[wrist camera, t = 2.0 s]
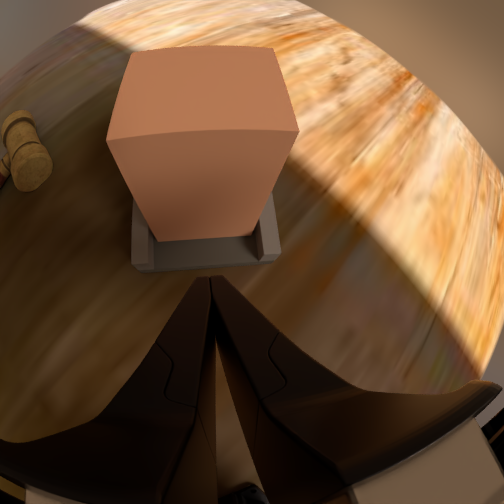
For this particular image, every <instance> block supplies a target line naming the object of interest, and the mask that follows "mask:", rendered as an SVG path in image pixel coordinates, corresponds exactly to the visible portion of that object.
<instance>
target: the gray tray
mask: <svg viewBox="0 0 504 504" xmlns="http://www.w3.org/2000/svg"><path fill="white" fill-rule="evenodd" d="M280 254H281V248H280V242H279V235H278V228H277V222H276V215H275V209H274V202H273V196H272V191H271V193H270V195H269V198H268V200H267V202H266V204H265V206H264V208H263V211H262V213H261V215H260V217H259V219H258V221H257V224H256V226H255V228H254V230H253V232H252V234H251V236H235V237H220V238H205V239H191V240H177V241H164V242H158V241H157V239H156V238H155V236H154V234H153V232H152V230H151V229H150V227H149V225H148V223H147V221H146V220H145V218H144V216H143V214H142V212H141V210H140V209H139V207H138V205H137V203H136V201H135V199H134V197H133V212H132V243H131V264H132V265H133V266H134V267H135V268H136V269H138V270H139V271H140V272H141V273H148V272H163V271H178V270H192V269H205V268H218V267H232V266H244V265H257V264H269V263H272V262H273V261H274V260H275V259H276V258H277V257H278V256H279V255H280Z"/></svg>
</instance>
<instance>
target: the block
mask: <svg viewBox="0 0 504 504" xmlns="http://www.w3.org/2000/svg"><path fill="white" fill-rule="evenodd" d="M298 133H299V128H298V125H297V121H296V118H295V114H294V111H293V108H292V104H291V101H290V98H289V94H288V91H287V88H286V85H285V82H284V79H283V76H282V73H281V70H280V67H279V64H278V61H277V58H276V55H275V52H274V50H273V48H264V47H250V46H188V47H174V48H163V49H155V50H147V51H140V52H134V53H132V55H131V57H130V60H129V63H128V65H127V68H126V71H125V74H124V77H123V80H122V83H121V86H120V89H119V92H118V96H117V99H116V103H115V106H114V110H113V113H112V117H111V121H110V125H109V129H108V134H107V138H106V142H107V144H108V146H109V149H110V151H111V153H112V155H113V157H114V159H115V161H116V163H117V165H118V168H119V170H120V172H121V174H122V176H123V178H124V180H125V182H126V184H127V186H128V188H129V189H130V191H131V193H132V195H133V197H134V199H135V201H136V203H137V205H138V207H139V209H140V210H141V212H142V214H143V216H144V218H145V220H146V221H147V223H148V225H149V227H150V229H151V230H152V232H153V234H154V236H155V238H156V239H157V241H158V242H164V241H177V240H191V239H205V238H220V237H235V236H251V234H252V232H253V230H254V228H255V226H256V224H257V221H258V219H259V217H260V215H261V213H262V211H263V208H264V206H265V204H266V202H267V200H268V198H269V195H270V193H271V191H272V189H273V187H274V185H275V182H276V180H277V178H278V176H279V174H280V172H281V170H282V167H283V165H284V163H285V161H286V159H287V157H288V155H289V152H290V150H291V148H292V146H293V144H294V142H295V140H296V138H297V135H298Z"/></svg>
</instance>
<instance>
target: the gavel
mask: <svg viewBox="0 0 504 504" xmlns="http://www.w3.org/2000/svg"><path fill="white" fill-rule="evenodd" d="M1 135H2V140H3V144H4V146H5V147H6V148H7V150H8V153H7V154H6V155H5V156H4V157H3V159H2V160H1V161H0V188H1V187H2V186H3V184H4V182H5V181H6V179H7V177H8V176H9V175H10V174H12V178H13V181H14V184H15V186H16V188H17V189H18V190H20V191H23V192H30V191H33V190H35V189H37V188H38V187H39V186H40V185H41V184H42V183H43V182H44V181H45V180H46V179H47V178H48V177H49V176H50V174H51V173H52V169H53V162H52V159H51V157H50V155H49V153H48V151H47V149H46V148H45V147H44V146H43V145H41V143H40V140H39V138H38V136H37V133H36V125H35V122H34V119H33V117H32V115H31V114H30V113H29V112H28V111H25V110H20V111H16V112H14V113H12V114H11V115H10V116H9V117H8V118H7V119H6V120H5V122H4V123H3V126H2V129H1Z"/></svg>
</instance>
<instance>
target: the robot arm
mask: <svg viewBox="0 0 504 504" xmlns="http://www.w3.org/2000/svg"><path fill="white" fill-rule="evenodd" d="M215 337H216V340H215ZM216 343H217V347H218V351H219V354H220V358H221V362H222V365H223V369H224V372H225V376H226V379H227V383H228V386H229V389H230V393H231V396H232V399H233V402H234V406H235V409H236V412H237V415H238V418H239V421H240V424H241V427H242V430H243V434H244V436H245V439H246V442H247V445H248V448H249V451H250V454H251V457H252V459H253V462H254V465H255V468H256V471H257V473H258V476H259V479H260V481H261V484H262V487H263V489H264V492H265V493H264V492H263V491H262V490H261V489H260V488H259V487H258V486H256V485H251V486H248V487H246V488H244V489H242V490H240V491H238V492H235V493H233V494H229V495H227V496H225V497H222V498H220V499H218V492H217V466H216V416H215V372H216ZM501 391H502V387H501V386H499V385H498V384H495V383H493V382H490V381H482V380H473V381H470V382H469V383H467V384H466V385H464V386H463V387H461V388H459V389H457V390H455V391H453V392H449V393H444V394H432V395H429V394H400V393H385V392H373V391H367V390H363V389H361V388H358V387H356V386H354V385H352V384H350V383H348V382H347V381H345V380H344V379H342V378H341V377H339V376H338V375H336V374H335V373H333V372H332V371H330V370H329V369H327V368H326V367H325V366H323V365H322V364H320V363H319V362H317V361H316V360H314V359H313V358H312V357H310V356H309V355H308V354H306V353H305V352H304V351H302V350H301V349H300V348H299V347H297V346H296V345H295V344H294V343H293V342H292V341H291V340H289V339H288V338H287V337H286V336H285V335H284V334H283V333H282V332H280V331H279V329H277V328H276V327H275V326H274V325H273V324H272V323H271V322H270V321H269V320H268V319H267V318H266V317H265V316H264V315H263V314H262V313H261V312H260V311H259V310H258V309H256V308H255V307H254V306H253V305H252V304H251V303H250V302H249V301H248V300H247V299H246V298H245V297H244V296H243V295H242V294H241V293H240V292H239V291H238V290H237V289H236V288H235V287H234V286H233V285H232V284H231V283H230V282H229V281H228V280H227V279H226V278H225V277H224V276H222V275H217V276H211V277H210V278H209V277H208V276H204V277H197V278H196V279H195V280H194V282H193V283H192V285H191V286H190V288H189V289H188V291H187V292H186V294H185V295H184V297H183V299H182V300H181V302H180V303H179V305H178V306H177V308H176V309H175V311H174V312H173V314H172V316H171V317H170V319H169V320H168V322H167V323H166V325H165V326H164V328H163V330H162V331H161V333H160V334H159V336H158V338H157V339H156V341H155V343H154V344H153V345H152V347H151V349H150V350H149V352H148V353H147V355H146V356H145V358H144V359H143V361H142V362H141V364H140V365H139V366H138V368H137V369H136V370H135V372H134V373H133V374H132V376H131V377H130V378H129V379H128V381H127V382H126V383H125V384H124V385H123V387H122V388H121V389H120V390H119V392H118V393H117V394H116V395H115V397H114V398H113V399H112V400H111V402H110V403H109V404H108V405H107V406H106V408H105V409H104V410H103V411H102V412H101V413H100V414H99V415H98V416H97V417H95V418H94V419H92V420H91V421H89V422H87V423H84V424H82V425H79V426H76V427H74V428H71V429H68V430H65V431H62V432H59V433H56V434H53V435H50V436H47V437H44V438H40V439H37V440H34V441H30V442H24V443H12V442H7V441H4V440H2V439H0V476H2V477H3V478H5V479H7V480H9V481H11V482H12V483H14V484H16V485H18V486H20V487H22V488H24V489H25V500H24V501H22V500H20V499H18V498H16V497H14V496H12V495H10V494H8V493H6V492H4V491H2V490H1V489H0V504H504V408H503V409H501V410H500V411H499V412H498V413H497V414H496V415H495V416H494V417H493V418H492V419H491V420H490V421H489V422H488V423H486V424H485V425H484V426H483V427H482V428H480V426H479V424H478V423H477V421H476V419H475V417H476V416H477V415H478V414H479V413H480V412H481V411H483V410H484V409H485V408H486V407H487V406H488V405H489V404H490V403H491V402H492V401H493V400H494V399H495V398H496V396H497V395H498V394H499V393H500V392H501ZM252 489H255V491H251V490H252Z"/></svg>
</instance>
